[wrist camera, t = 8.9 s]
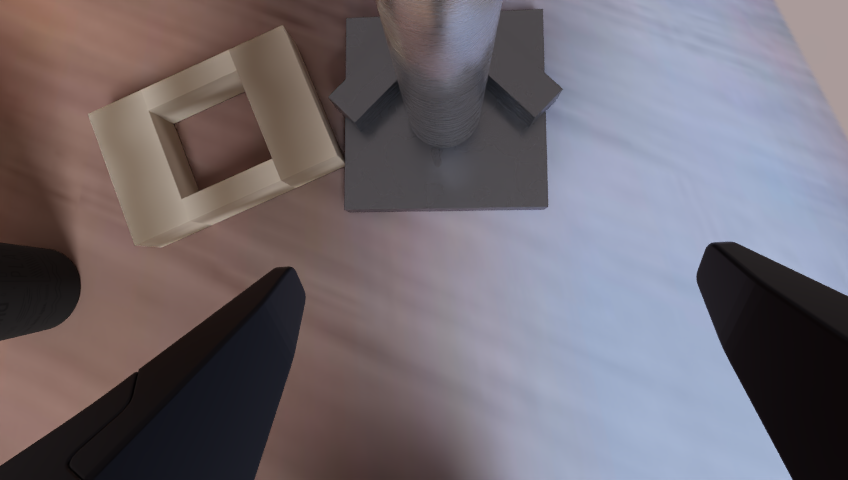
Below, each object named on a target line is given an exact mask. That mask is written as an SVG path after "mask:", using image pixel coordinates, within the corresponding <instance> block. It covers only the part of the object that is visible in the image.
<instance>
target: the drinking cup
mask: <svg viewBox="0 0 848 480" xmlns="http://www.w3.org/2000/svg"><path fill="white" fill-rule="evenodd" d="M79 294H80V279H79V275H78V272H77V270H76V268H75V266H74V264H73V263H72V262H71V261H70V260H69V259H68V258H67V257H66V256H65V255H63V254H61V253H60V252H57V251H54V250H50V249H43V248H36V247H28V246H21V245H14V244H6V243H0V341H1V340H5V339H10V338H14V337H18V336H22V335H26V334H30V333H34V332H39V331H43V330H47V329H50V328H53V327H55V326H57V325H59V324H61V323H62V322H63V321H65V320H66V319H67V318H68V317H69V316H70V314H71V313H72V312H73V310H74V308H75V306H76V304H77V302H78V299H79Z"/></svg>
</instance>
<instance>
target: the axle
mask: <svg viewBox="0 0 848 480" xmlns="http://www.w3.org/2000/svg"><path fill="white" fill-rule="evenodd" d="M375 1H376V5H377V8H378V12H379V16H380V19H381V23H382V26H383V30H384V34H385V37H386V41H387V45H388V48H389V52H390V55H391V59H392V63H393V66H394V70H395V73H396V77H397V81H398V84H399V88H400V92H401V95H402V99H403V102H404V106H405V110H406V113H407V117H408V120H409V124H410V126H411V128H412V130H413V132H414V133H415V135H416V136H417V137H418V138H419V139H420V140H422V141H423V142H425V143H426V144H429V145H431V146H434V147H441V148H446V147H452V146H456V145H458V144H460V143H462V142H464V141H465V140H467V139H468V138H469V137H470V136H471V135H472V134H473V133H474V131H475V130H476V128H477V126H478V123H479V120H480V115H481V110H482V105H483V99H484V94H485V89H486V84H487V79H488V73H489V68H490V63H491V58H492V53H493V48H494V42H495V37H496V32H497V27H498V22H499V16H500V11H501V6H502V1H503V0H375Z"/></svg>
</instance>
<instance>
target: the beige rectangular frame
mask: <svg viewBox="0 0 848 480" xmlns="http://www.w3.org/2000/svg"><path fill="white" fill-rule="evenodd" d="M243 92H246V95H247V97H248V100H249V102H250V105H251V107H252V110H253V112H254V115H255V117H256V120H257V122H258V125H259V127H260V130H261V132H262V135H263V137H264V140H265V142H266V145H267V147H268V150H269V152H270V155H271V157H272V159H270V160H268V161H266V162H264V163H261V164H259V165H257V166H255V167H252V168H250V169H248V170H246V171H243V172H241V173H239V174H237V175H235V176H232V177H230V178H228V179H226V180H223V181H221V182H219V183H217V184H214V185H212V186H210V187H208V188H205V189H203V190H201V191H199V189H198V187H197V184H196V181H195V179H194V176H193V174H192V171H191V168H190V166H189V163H188V160H187V158H186V155H185V152H184V150H183V147H182V144H181V142H180V139H179V137H178V134H177V131H176V129H175V126H174V124H175V123H177V122H179V121H181V120H183V119H186V118H188V117H190V116H192V115H194V114H197V113H199V112H201V111H203V110H205V109H208V108H210V107H212V106H214V105H216V104H219V103H221V102H223V101H225V100H227V99H230V98H232V97H234V96H236V95H238V94H241V93H243ZM88 116H89V119H90V122H91V124H92V127H93V130H94V133H95V136H96V139H97V141H98V144H99V147H100V150H101V153H102V155H103V158H104V161H105V164H106V167H107V169H108V172H109V175H110V178H111V181H112V183H113V186H114V189H115V192H116V195H117V197H118V200H119V203H120V206H121V209H122V211H123V214H124V217H125V220H126V223H127V225H128V228H129V231H130V234H131V237H132V239H133V242H134V245H135V246H147V247H161V248H162V247H164V246H166V245H169V244H171V243H173V242H175V241H178V240H180V239H182V238H184V237H187V236H189V235H191V234H193V233H196V232H198V231H200V230H202V229H205V228H207V227H209V226H211V225H214V224H216V223H218V222H220V221H223V220H225V219H227V218H229V217H232V216H234V215H236V214H238V213H241V212H243V211H245V210H247V209H250V208H252V207H254V206H256V205H259V204H261V203H263V202H265V201H268V200H270V199H272V198H274V197H277V196H279V195H281V194H283V193H286V192H288V191H290V190H292V189H295V188H297V187H299V186H302V185H304V184H306V183H308V182H311V181H313V180H315V179H317V178H320V177H322V176H324V175H326V174H329V173H331V172H333V171H335V170H338V169H340V168H342V167H344V166H345V159H344V157H343V154H342V152H341V150H340V147H339V145H338V142H337V140H336V138H335V135H334V133H333V131H332V128H331V126H330V123H329V121H328V119H327V116H326V114H325V111H324V109H323V107H322V104H321V102H320V100H319V97H318V95H317V92H316V90H315V88H314V85H313V83H312V81H311V78H310V76H309V73H308V71H307V69H306V66H305V64H304V61H303V59H302V57H301V54H300V52H299V50H298V47H297V45H296V44H295V42H294V41H293V39H292V38H291V36H290V35H289V33H288V32H287V30H286V29H285V28H284V26H283V25H281V26H279V27H277V28H275V29H273V30H270V31H268V32H266V33H264V34H262V35H260V36H257V37H255V38H253V39H251V40H249V41H246V42H244V43H242V44H240V45H238V46H236V47H233V48H231V49H229V50H227V51H225V52H223V53H220V54H218V55H216V56H214V57H212V58H209V59H207V60H205V61H203V62H201V63H199V64H196V65H194V66H192V67H190V68H188V69H185V70H183V71H181V72H179V73H177V74H175V75H172V76H170V77H168V78H166V79H164V80H161V81H159V82H157V83H155V84H153V85H151V86H148V87H146V88H144V89H142V90H140V91H137V92H135V93H133V94H131V95H129V96H127V97H124V98H122V99H120V100H118V101H116V102H113V103H111V104H109V105H107V106H105V107H103V108H100V109H98V110H96V111H94V112H92V113H89V114H88Z"/></svg>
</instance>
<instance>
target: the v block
mask: <svg viewBox="0 0 848 480" xmlns="http://www.w3.org/2000/svg"><path fill="white" fill-rule="evenodd" d="M562 90H563V89H562V88H561V87H560V86H559V85H558V84H557V83H555V82H554V81H553V80H552V79H551V78H550V77H549V76H548V75H546V74H545V73H544V37H543V9H535V10H513V11H500V16H499V22H498V27H497V32H496V37H495V42H494V48H493V53H492V58H491V63H490V68H489V73H488V79H487V84H486V89H485V94H484V99H483V105H482V110H481V115H480V120H479V123H478V126H477V128H476V130H475V131H474V133H473V134H472V135H471V136H470V137H469V138H468V139H467V140H465V141H464V142H462V143H460V144H458V145H456V146H452V147H446V148H441V147H434V146H431V145H429V144H426V143H425V142H423V141H422V140H420V139H419V138H418V137H417V136H416V135H415V133H414V132H413V130H412V128H411V126H410V124H409V120H408V117H407V113H406V110H405V106H404V102H403V99H402V95H401V92H400V88H399V84H398V81H397V77H396V73H395V70H394V66H393V63H392V59H391V55H390V52H389V48H388V45H387V41H386V37H385V34H384V30H383V26H382V23H381V19H380V17H362V18H346V79H345V81H344V82H343V83H342V84H341V85H340V86H339V87H338V88H337V89H336V90H335V91H334V92H333V93H332V94H331V95H330V96H329V99H330V100H331V101H332V103H333V104H334V106H335V107H336V108H337V109H338V110H339V111H340V112H341V113H342V114H343V115H344V116H345V203H344V210H346V211H348V212H402V211H473V210H544V209H545V208H547V207H548V181H547V145H546V110H547V109H548V108H549V107H550V106H551V105H552V104H553V103H554V102H555V101H556V99H557V98H558V96H559V94H560V93H561V91H562Z"/></svg>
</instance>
